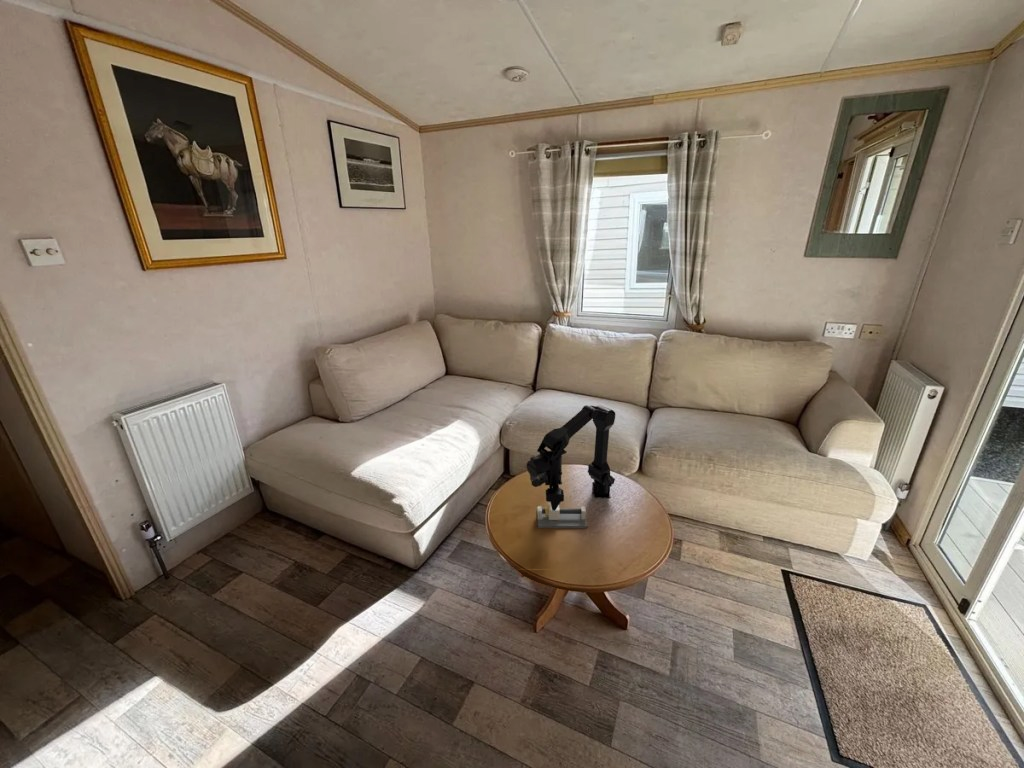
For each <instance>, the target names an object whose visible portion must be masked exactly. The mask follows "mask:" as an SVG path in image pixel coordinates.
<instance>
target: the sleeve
mask: <svg viewBox="0 0 1024 768" xmlns="http://www.w3.org/2000/svg"><path fill="white" fill-rule="evenodd" d="M547 505H548V506H547V507H549V516H548V517H549V520H559V518H560V509H559V508H560V504H559V505H558V507H557V509H556V510H552V507H551V503H550V502H548V503H547Z"/></svg>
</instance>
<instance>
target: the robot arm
mask: <svg viewBox="0 0 1024 768" xmlns="http://www.w3.org/2000/svg"><path fill="white" fill-rule="evenodd" d="M615 420H616V412H615V411H614V410H613V409H611V408H608V407H606V406H604V405H601V404H598V405H584V406H583V407H582V408H581V410H580V411H578V412H577V413H576V414H575V415H574V416H573V417H571V418H570V419H569V420H568V421H567V422H565V424H563V425H562V426H560V427H559V428H554V429H552V430H551V431H549V432H547V433H546V434H545V435H544V437H543V438H542V441H541V443H540V444H539V446H538V448H537V450H536V452H537V453H539V454H537V455H535V456H532V457H530V458H529V460H528V461H527V463H526V469H527V472H528V474H529V480H530V482H531V486H533V487H534V488H537V487H541V486H542V485H545V486H548V487H549V488H547V489H545V502H548V503H551V507H552V510H556V509H557V507H558V505H559V506H560V504H561V502H565V492H564V489H562V488H561V487H559V485H563V480H562V475H563V469H562V468H563V467H562V466H563V465H562V463H563V462H562V460H563V456H564V455H566V454H567V452H568V451H566V450H565V448H567V447H568V446H569V443H570V439H571V438H572V437H573V436H574V435H576V434H577V433H578V432H579V431H580V430H581V429H583V428H584V427H585V426H586V425H587V424H588V423H590V422H591V421H592V422H593V424H594V427H595V439H594V440H595V441H594V442H595V443H594V456H593V461H591V463H588V467H587V468H588V469H587V473H588V476H590V478H591V479H592V480H593V482H591V485H592V486H591V492H592V494H593V497H594V498H595V499H610V498H611V497H612V496H611V494H610V493H611V487H612V486H613V485H614V484H615V481H616V479H615V477H613V476H612V474H611V467H610V465H609V464H608V450H609V449H608V448H609V439H610V438H609V437H610V436H609V435H610V429H611V428H612V427H613V426H614V424H615ZM547 449H548V450H547Z"/></svg>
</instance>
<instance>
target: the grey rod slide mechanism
mask: <svg viewBox="0 0 1024 768" xmlns="http://www.w3.org/2000/svg"><path fill="white" fill-rule="evenodd" d="M559 509H560V518H559V520H549V517H548V516H549V507H548V506H545V507H543V506H542V505H539V506H537V510H536V513H537V528H538V529H587V528H588V524H587V520H586V519H587V518H586V517H587V510H586V506H585V505H584V506H580V507H578V508H577V507H576V508H574V507H559Z"/></svg>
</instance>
